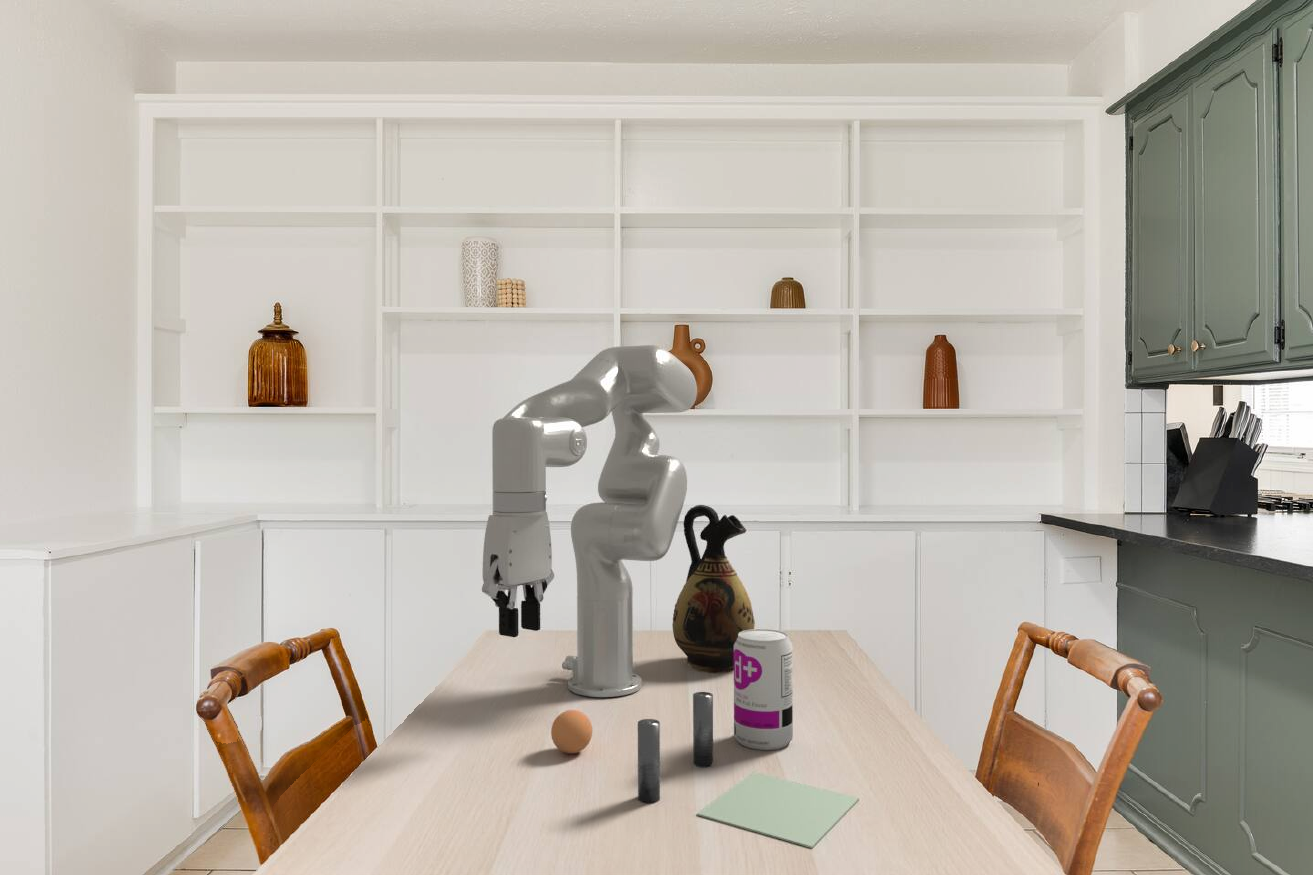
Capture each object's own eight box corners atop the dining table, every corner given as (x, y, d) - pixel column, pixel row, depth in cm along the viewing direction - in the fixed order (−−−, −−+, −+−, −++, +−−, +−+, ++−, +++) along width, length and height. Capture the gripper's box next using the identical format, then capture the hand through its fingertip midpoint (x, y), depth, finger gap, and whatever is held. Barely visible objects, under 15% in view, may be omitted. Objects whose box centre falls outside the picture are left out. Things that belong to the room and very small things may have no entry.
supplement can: (755, 755, 112) (755, 644, 112) (723, 736, 119) (722, 631, 119) (804, 745, 116) (804, 637, 116) (770, 727, 123) (769, 625, 123)
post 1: (633, 799, 99) (633, 723, 99) (646, 791, 101) (645, 717, 101) (651, 804, 97) (651, 727, 97) (664, 796, 99) (663, 721, 99)
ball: (542, 754, 113) (542, 712, 113) (569, 741, 118) (569, 701, 118) (574, 762, 110) (574, 720, 110) (600, 749, 115) (600, 708, 115)
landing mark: (696, 814, 95) (696, 813, 95) (753, 773, 106) (753, 771, 106) (812, 848, 87) (812, 846, 87) (859, 799, 99) (859, 797, 99)
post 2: (689, 764, 109) (689, 695, 109) (699, 757, 111) (699, 690, 111) (706, 768, 108) (706, 699, 108) (716, 762, 110) (716, 693, 110)
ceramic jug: (766, 660, 160) (766, 504, 160) (735, 681, 146) (735, 510, 146) (687, 650, 168) (686, 501, 168) (650, 669, 154) (650, 507, 154)
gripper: (538, 499, 128) (539, 618, 128) (456, 507, 114) (457, 641, 114) (576, 501, 124) (577, 624, 124) (496, 509, 110) (497, 648, 110)
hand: (519, 631), depth 119 cm, fingers open, 3 cm apart
